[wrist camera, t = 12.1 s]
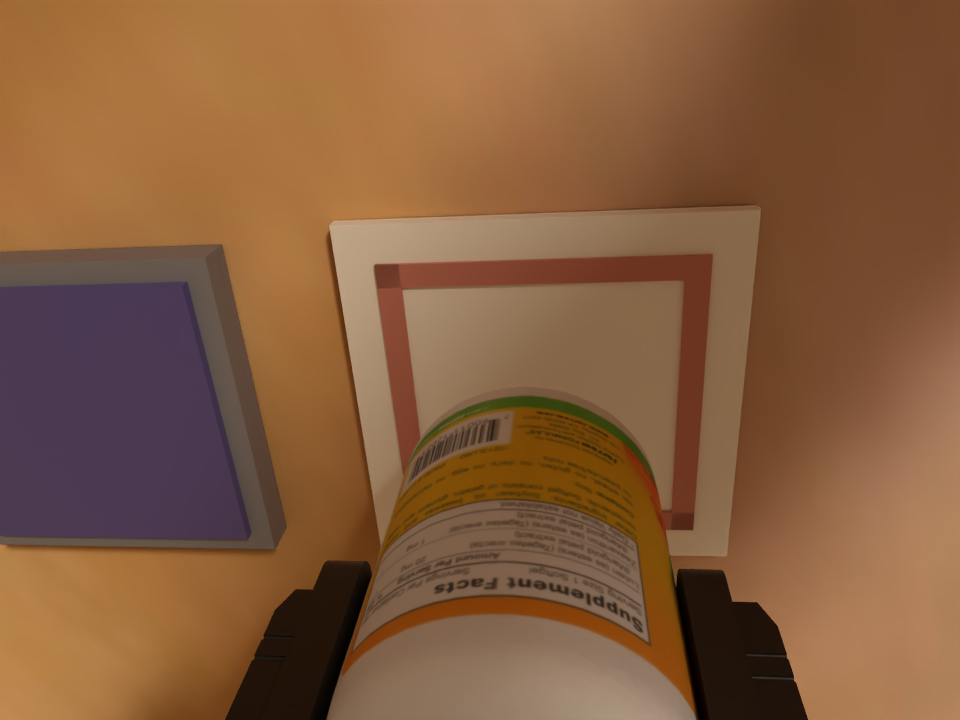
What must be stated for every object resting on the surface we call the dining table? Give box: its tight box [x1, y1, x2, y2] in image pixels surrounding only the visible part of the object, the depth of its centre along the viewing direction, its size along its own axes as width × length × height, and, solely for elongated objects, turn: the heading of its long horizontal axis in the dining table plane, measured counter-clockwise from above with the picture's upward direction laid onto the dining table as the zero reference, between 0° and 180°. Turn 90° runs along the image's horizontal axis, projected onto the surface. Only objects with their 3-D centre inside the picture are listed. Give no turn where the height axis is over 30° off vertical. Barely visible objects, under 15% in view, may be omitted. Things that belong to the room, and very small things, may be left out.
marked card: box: [329, 205, 761, 557], centre depth 20 cm, size 10×10×1 cm
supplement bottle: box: [326, 387, 699, 720], centre depth 12 cm, size 5×5×10 cm
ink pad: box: [0, 245, 286, 549], centre depth 21 cm, size 9×9×1 cm
